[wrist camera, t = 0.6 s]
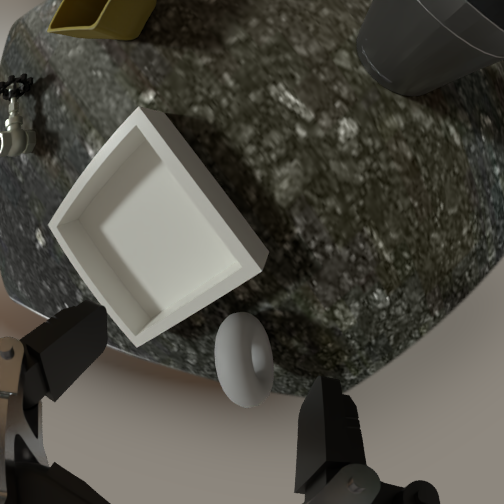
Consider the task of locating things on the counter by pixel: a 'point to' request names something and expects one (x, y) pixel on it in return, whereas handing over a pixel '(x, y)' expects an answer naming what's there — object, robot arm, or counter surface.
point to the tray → (154, 229)
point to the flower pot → (102, 18)
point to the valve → (16, 120)
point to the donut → (244, 360)
